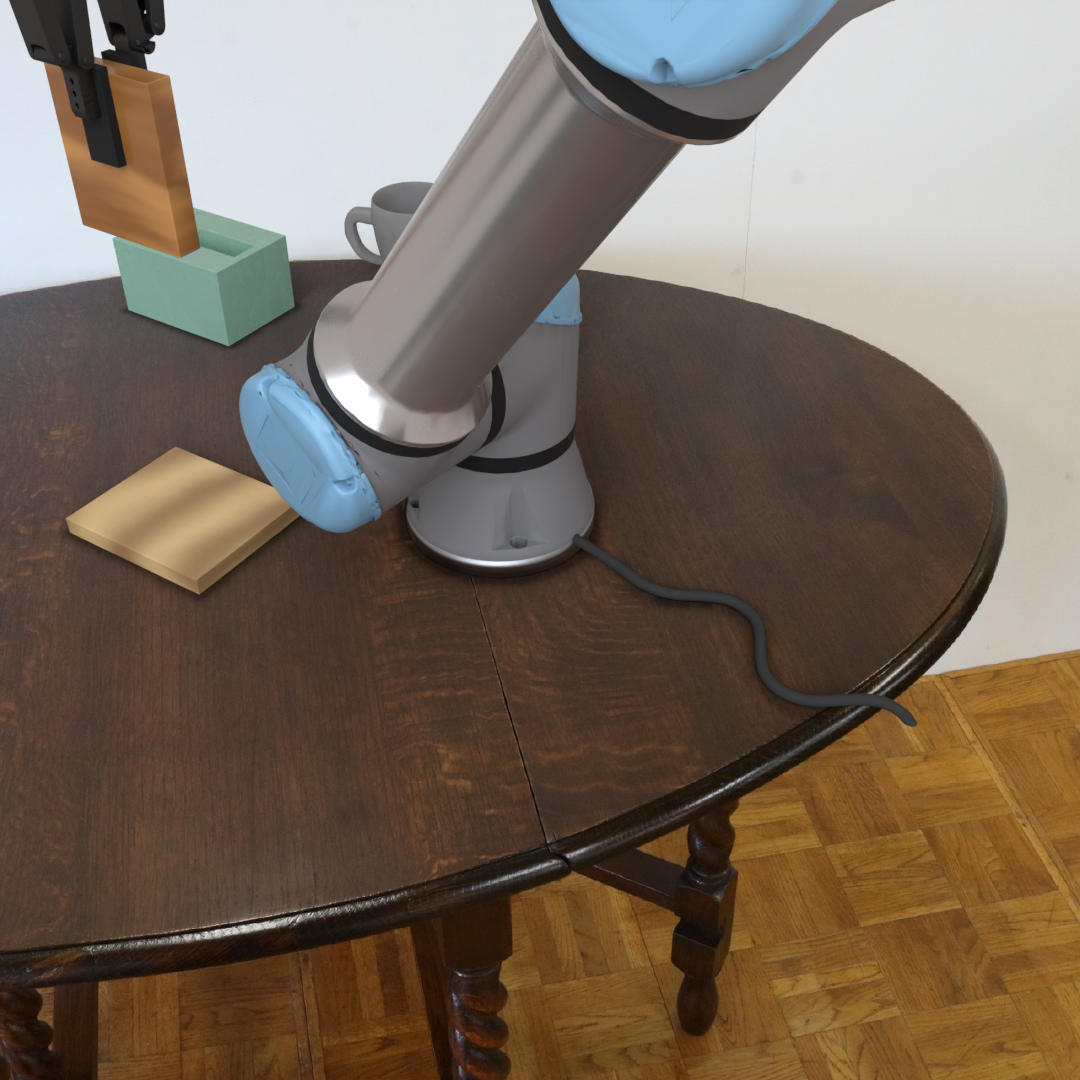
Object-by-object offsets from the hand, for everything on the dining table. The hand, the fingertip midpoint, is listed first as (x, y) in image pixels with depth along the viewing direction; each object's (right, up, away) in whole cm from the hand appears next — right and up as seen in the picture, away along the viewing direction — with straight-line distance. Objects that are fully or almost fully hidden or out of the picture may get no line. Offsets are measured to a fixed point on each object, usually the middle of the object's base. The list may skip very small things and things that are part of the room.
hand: (124, 155), depth 82 cm
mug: (+14, +2, +48) cm, 50 cm away
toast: (0, -5, +4) cm, 6 cm away
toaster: (-6, -2, +42) cm, 43 cm away
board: (0, -25, +14) cm, 29 cm away
